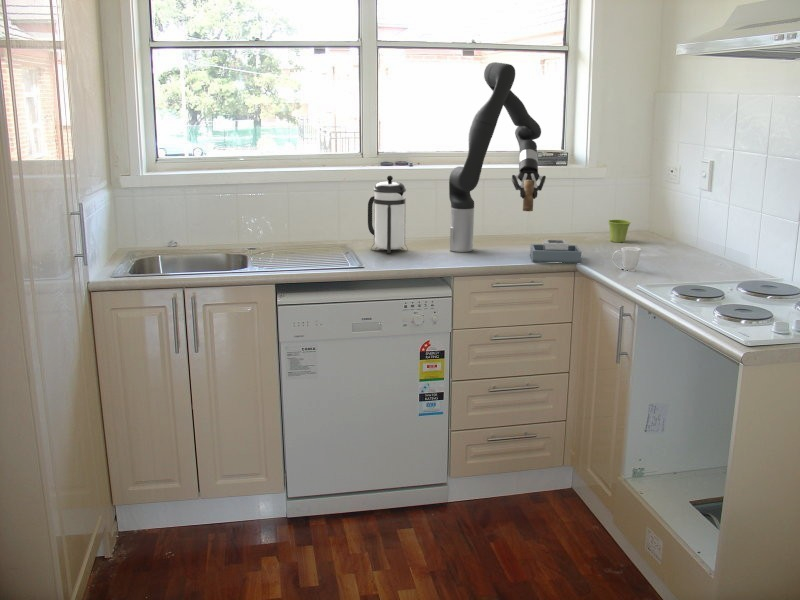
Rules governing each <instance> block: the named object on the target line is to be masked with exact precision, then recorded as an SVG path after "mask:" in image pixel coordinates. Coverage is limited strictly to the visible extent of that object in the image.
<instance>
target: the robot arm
mask: <svg viewBox="0 0 800 600" xmlns="http://www.w3.org/2000/svg"><path fill="white" fill-rule="evenodd" d="M483 79H484V81H485V82H486V85H487V86H488V87H489V88H490V90H491V91H492V94H491V95H490V96H489V98H488V100H487V101H486V102H485V103H484V105H483V106H481V108H480V109H478V111H477V112H476V113H475V115H474V117H473V119H472V122H471V125H470V127H469V132H468V152H467V157H466V160H465V161H464V165H463V166H456V167H454V168H453V169H452V170H451V172H450V174H449V178H448V179H449V181H448V184H449V185H448V187H449V188H448V190H449V191H448V195H449V201H450V228H449V229H450V230H449V251H450V252H457V253H458V252H459V253H465V252H466V253H467V252H472V251H473V249H474V224H475V223H474V222H475V221H474V220H475V219H474V218H475V201H474V199H473V197H472V195H471V192H472V191H473V190H475V189H476V187H478V186H477V185H478V183H479V181H480V177H481V174H482V169H483V164H484V162H485V161H484V160H485V158H486V155H487V152H488V149H489V146H490V143H491V141H492V138H493V135H494V133H495V130H496V128H497V127H496V126H497V123H498V120H499V118H500V116H501V112H502V110H503V107H504V108H505V110H506V112H507V114H508V115H509V117H510V119H511V122H512V123H513V125H515V127H516V129H515V131H514V134H515V139H516V140H517V144H518V147H519V156H518V157H519V158H518V174H517V175H515V174H512V176H511V182H512V185H513V186H514V188H515V190H516V191H519V192H520V195H519V197H520V198H521V199H524V180H535V181H534V199H533V200H535V199H536V198H537V197H538V192H539V191H542V189H543V187H544V184H545V182H546V178H547V177H546V175H540V173H539V158H538V150H537V149H538V147H537V143H536V141H534V140H537V139H539V138H540V137H541V135H542V128H541V126H540V125H539V123H538V122H537V121H536V120H535V119H534V118H533V117H532V116H531V115H530V114H529V112H528V109H526V106H525V104H524V103H523V101H522V100H521V99H520V98H519V97H518V96H517V95H516V94H515V92H513V91H512V90H511V89H512V88H513V85H514V82H515V79H516V69H515V67H514V65H513V64H509V63H505V62H504V63H503V62H497V61H495V62H491V63H488V64H487V65H486V67H485V68H484V70H483ZM518 180H519V181H520V182H521V184H519V182H518ZM538 180H539V184H538V185H537V182H538Z"/></svg>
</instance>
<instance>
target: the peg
mask: <svg viewBox="0 0 800 600" xmlns="http://www.w3.org/2000/svg"><path fill="white" fill-rule="evenodd" d="M534 181H535V180H524V199H523V200H522V202H523V203H522V212H523V211H524V212H533V211H534V200H535V199H534Z"/></svg>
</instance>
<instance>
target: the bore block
mask: <svg viewBox="0 0 800 600" xmlns="http://www.w3.org/2000/svg"><path fill="white" fill-rule="evenodd" d="M542 244H543V251H568V245H569V243H568V241H567V239H553V238H552V239H549V238H548V239H547V238H546V239H543V241H542Z"/></svg>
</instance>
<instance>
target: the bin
mask: <svg viewBox="0 0 800 600" xmlns="http://www.w3.org/2000/svg"><path fill="white" fill-rule="evenodd" d="M529 248H530V249H529V256H530V260H531V263H532V262H562V263H561V264H568V263H571V264H570V265H572V264H573V265H577V263H581V261H582V251H581V249H580V247H579V246H578V245H576V244H568V251H543V243H541V244H538V243H537V244H536V243H534V244H533V243H531V244H529ZM581 264H582V263H581Z"/></svg>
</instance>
